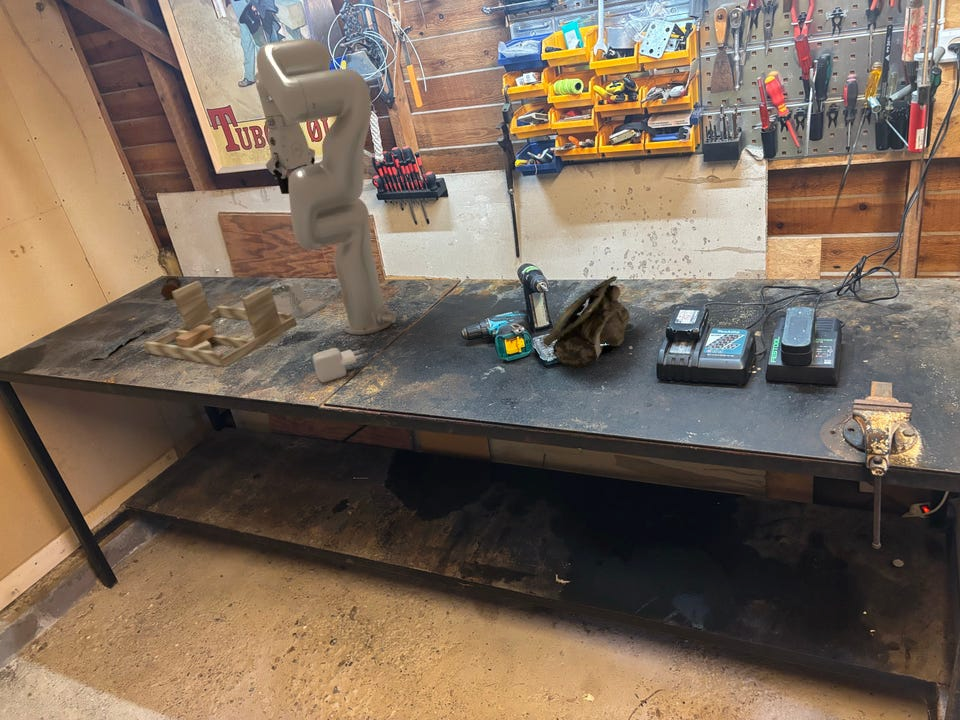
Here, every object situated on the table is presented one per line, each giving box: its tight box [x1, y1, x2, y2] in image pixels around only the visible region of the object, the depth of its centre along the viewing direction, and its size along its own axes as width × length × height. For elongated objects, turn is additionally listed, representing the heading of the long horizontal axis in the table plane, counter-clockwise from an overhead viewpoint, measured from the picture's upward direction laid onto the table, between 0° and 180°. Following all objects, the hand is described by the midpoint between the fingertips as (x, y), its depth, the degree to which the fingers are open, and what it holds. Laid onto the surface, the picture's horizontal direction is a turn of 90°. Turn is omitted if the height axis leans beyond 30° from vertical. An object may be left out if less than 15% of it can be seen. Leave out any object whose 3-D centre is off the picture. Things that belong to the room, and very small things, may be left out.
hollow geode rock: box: [542, 275, 631, 370], centre depth 128 cm, size 28×13×15 cm
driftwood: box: [91, 324, 151, 361], centre depth 172 cm, size 21×7×2 cm, turn 167°
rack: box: [143, 280, 298, 367], centre depth 162 cm, size 30×24×12 cm
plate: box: [230, 296, 327, 319], centre depth 180 cm, size 29×9×1 cm, turn 61°
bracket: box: [271, 282, 309, 307], centre depth 179 cm, size 3×21×10 cm, turn 59°
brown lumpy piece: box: [160, 275, 182, 301], centre depth 206 cm, size 6×5×15 cm
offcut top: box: [175, 324, 216, 348], centre depth 158 cm, size 8×4×2 cm, turn 150°
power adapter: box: [312, 347, 369, 383], centre depth 136 cm, size 11×5×6 cm, turn 114°
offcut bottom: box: [192, 340, 214, 351], centre depth 159 cm, size 10×4×3 cm, turn 37°
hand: (299, 188), depth 171 cm, fingers open, 9 cm apart
